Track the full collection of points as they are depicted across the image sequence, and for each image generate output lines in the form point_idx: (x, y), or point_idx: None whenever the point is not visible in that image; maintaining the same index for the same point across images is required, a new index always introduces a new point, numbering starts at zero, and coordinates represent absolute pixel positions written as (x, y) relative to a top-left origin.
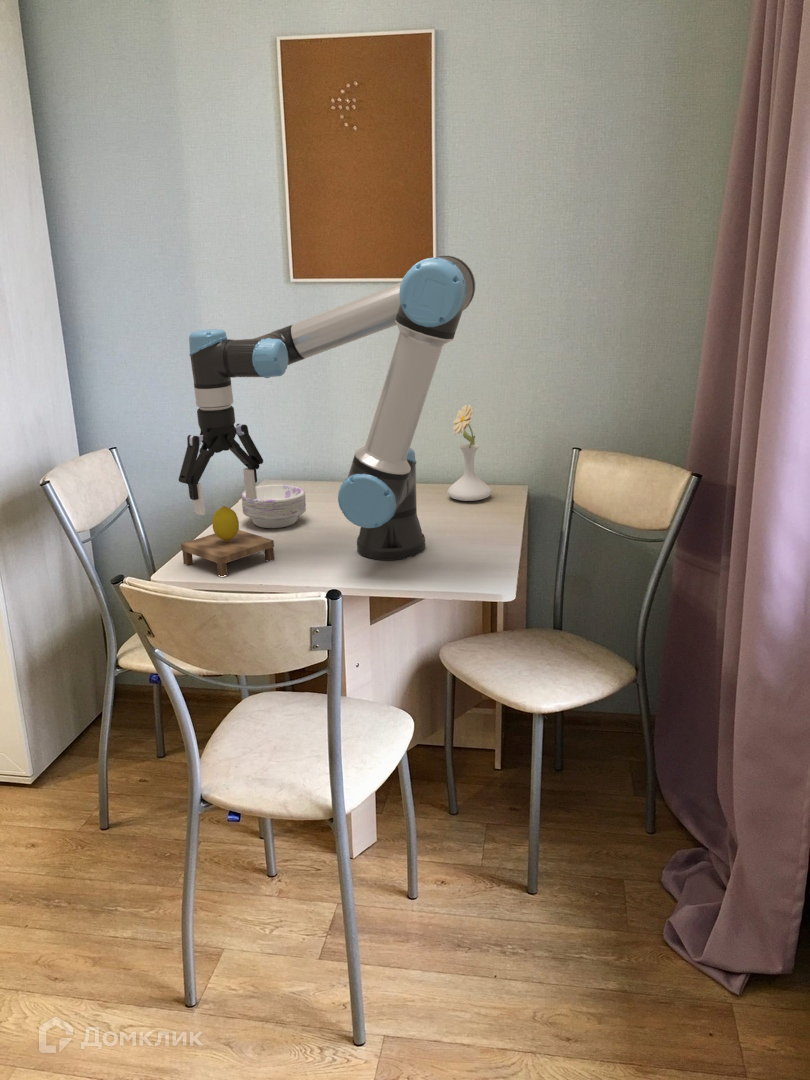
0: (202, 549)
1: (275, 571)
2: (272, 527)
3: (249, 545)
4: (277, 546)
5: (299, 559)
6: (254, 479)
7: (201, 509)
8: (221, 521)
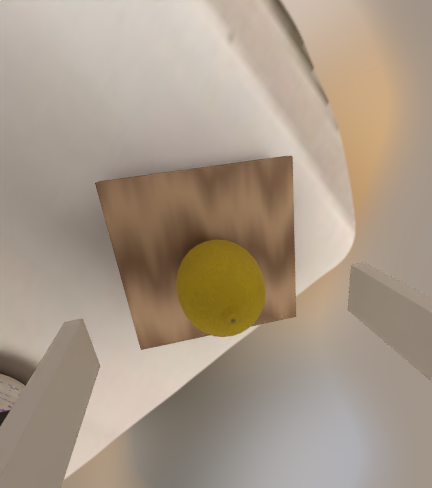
0: (286, 249)
1: (151, 98)
2: (10, 377)
3: (180, 191)
4: (57, 263)
5: (49, 133)
6: (7, 418)
7: (384, 273)
8: (255, 266)
